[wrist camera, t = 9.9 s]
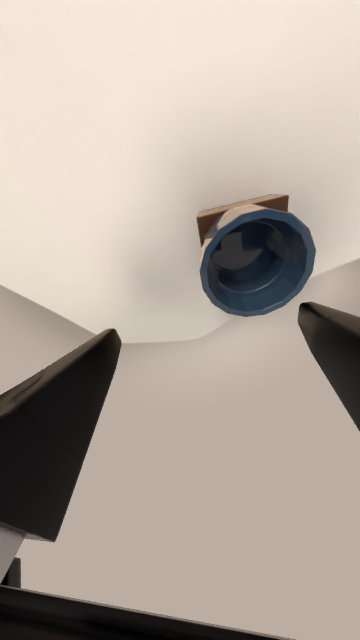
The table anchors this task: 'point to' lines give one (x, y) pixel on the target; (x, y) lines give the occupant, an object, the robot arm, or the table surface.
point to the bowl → (255, 259)
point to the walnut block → (211, 215)
